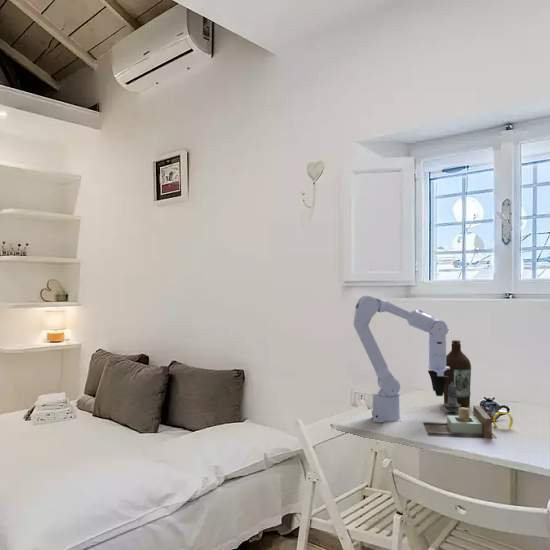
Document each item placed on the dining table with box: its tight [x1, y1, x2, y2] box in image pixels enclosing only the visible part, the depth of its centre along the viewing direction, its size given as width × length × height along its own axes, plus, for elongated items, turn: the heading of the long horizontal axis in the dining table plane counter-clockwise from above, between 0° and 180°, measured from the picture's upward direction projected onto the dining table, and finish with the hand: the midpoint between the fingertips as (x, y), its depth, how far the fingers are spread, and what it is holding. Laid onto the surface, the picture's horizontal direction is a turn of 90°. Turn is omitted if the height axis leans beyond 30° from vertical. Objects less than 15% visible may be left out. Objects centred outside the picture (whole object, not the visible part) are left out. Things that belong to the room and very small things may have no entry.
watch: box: [492, 409, 514, 429], centre depth 169 cm, size 6×3×6 cm, turn 86°
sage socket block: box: [446, 414, 482, 434], centre depth 166 cm, size 9×9×3 cm
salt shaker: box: [443, 382, 461, 415], centre depth 187 cm, size 6×6×12 cm
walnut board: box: [422, 405, 498, 440], centre depth 167 cm, size 20×16×7 cm
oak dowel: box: [458, 407, 470, 422], centre depth 166 cm, size 3×3×6 cm
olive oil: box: [443, 339, 472, 408], centre depth 200 cm, size 11×11×25 cm
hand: (437, 393), depth 180 cm, fingers open, 7 cm apart
